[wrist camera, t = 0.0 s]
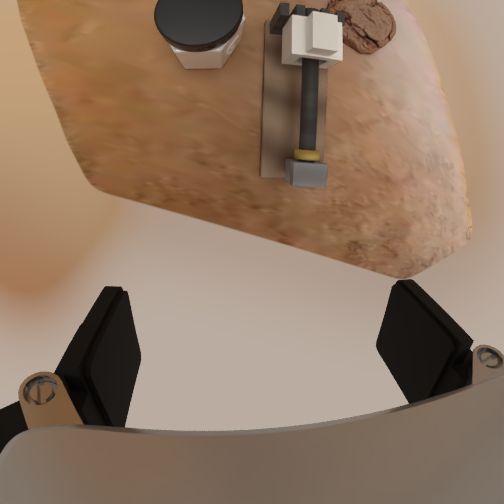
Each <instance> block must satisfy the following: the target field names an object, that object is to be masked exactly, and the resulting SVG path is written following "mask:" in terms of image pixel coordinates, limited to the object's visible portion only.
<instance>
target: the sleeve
mask: <svg viewBox="0 0 504 504" xmlns="http://www.w3.org/2000/svg"><path fill="white" fill-rule="evenodd" d="M302 57H303V58H311V59H319V68H324V69H327V68H329V67H331V66H333V65H335V64H337V63H339V62H341V61H343V37H342V23H341V22H338V15H333V14H328V13H323V12H317V11H312V12H311V13H310V15H309V16H308V17H307V16H299V15H292V16H291V17H290V19H289V20H288V21H287V23H286V24H285V26H284V27H283V29H282V64H291V65H301V66H302Z"/></svg>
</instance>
